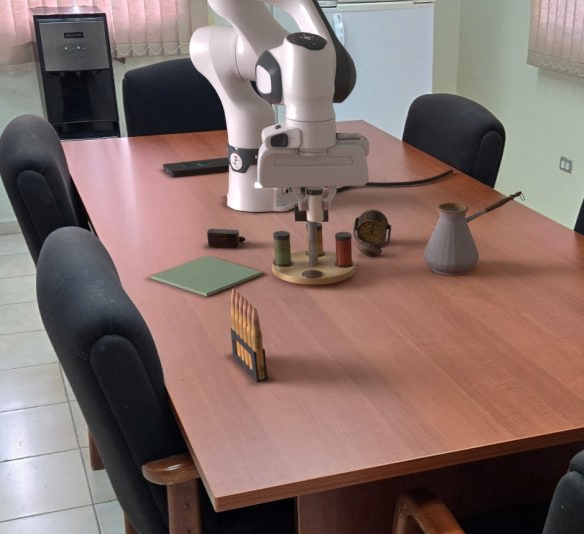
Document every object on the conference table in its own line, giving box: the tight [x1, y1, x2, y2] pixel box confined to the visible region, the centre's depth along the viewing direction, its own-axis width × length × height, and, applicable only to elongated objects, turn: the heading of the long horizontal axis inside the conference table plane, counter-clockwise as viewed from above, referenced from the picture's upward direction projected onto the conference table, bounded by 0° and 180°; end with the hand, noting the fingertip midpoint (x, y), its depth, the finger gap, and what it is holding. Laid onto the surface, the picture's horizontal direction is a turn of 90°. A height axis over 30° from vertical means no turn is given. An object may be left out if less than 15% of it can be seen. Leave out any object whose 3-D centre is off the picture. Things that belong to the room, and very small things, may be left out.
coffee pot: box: [422, 190, 526, 276], centre depth 193 cm, size 21×12×15 cm, turn 112°
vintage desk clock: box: [352, 209, 392, 257], centre depth 203 cm, size 7×13×10 cm
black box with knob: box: [206, 228, 246, 249], centre depth 201 cm, size 5×7×3 cm, turn 89°
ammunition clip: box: [230, 288, 269, 383], centre depth 150 cm, size 11×2×12 cm, turn 32°
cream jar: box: [305, 187, 324, 223], centre depth 177 cm, size 3×3×6 cm
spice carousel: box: [271, 203, 356, 285], centre depth 186 cm, size 16×16×13 cm
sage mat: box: [150, 255, 263, 297], centre depth 186 cm, size 15×15×1 cm
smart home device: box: [162, 156, 230, 178], centre depth 252 cm, size 8×2×20 cm
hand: (314, 209), depth 177 cm, fingers closed on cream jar, 3 cm apart
